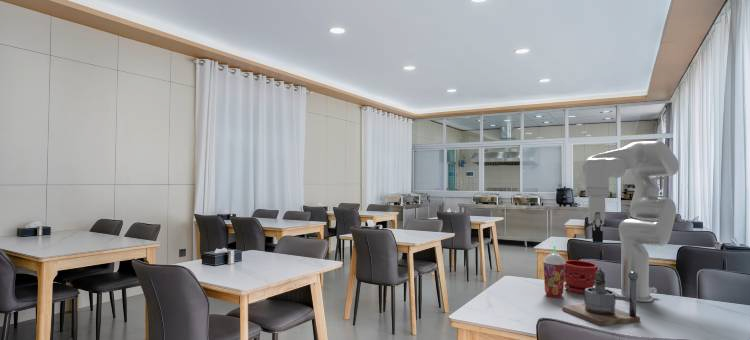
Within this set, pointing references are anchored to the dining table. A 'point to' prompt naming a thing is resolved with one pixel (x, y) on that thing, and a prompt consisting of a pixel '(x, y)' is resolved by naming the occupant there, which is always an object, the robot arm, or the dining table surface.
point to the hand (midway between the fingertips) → (597, 240)
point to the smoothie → (554, 274)
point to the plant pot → (579, 275)
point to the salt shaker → (600, 283)
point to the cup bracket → (606, 306)
